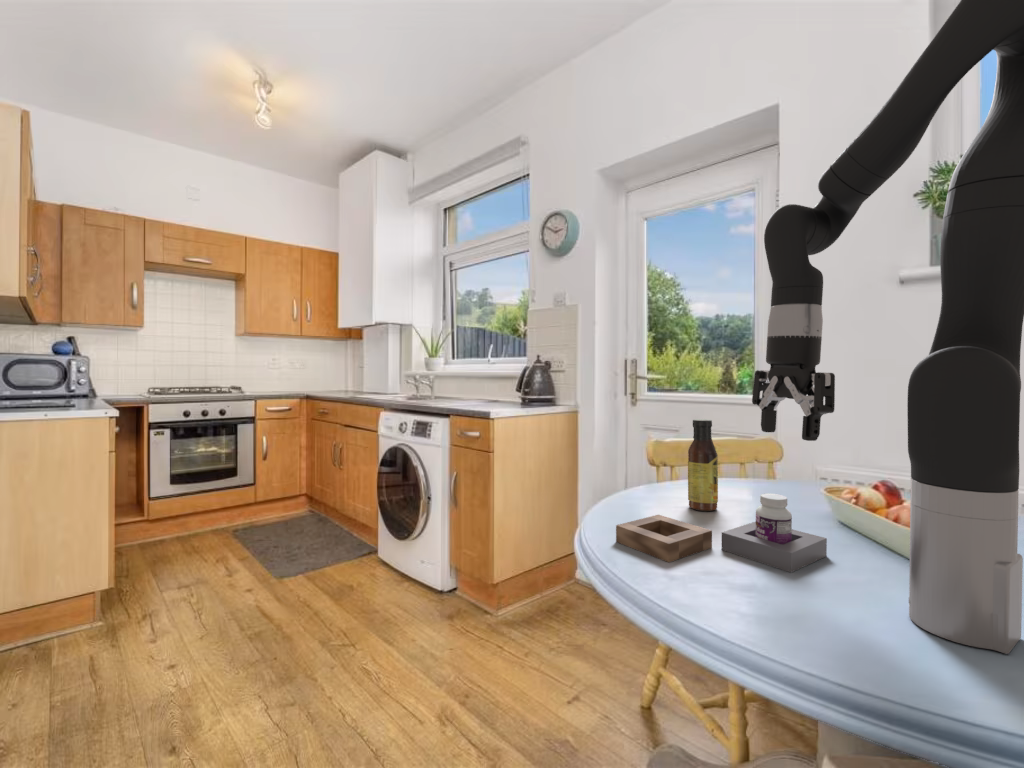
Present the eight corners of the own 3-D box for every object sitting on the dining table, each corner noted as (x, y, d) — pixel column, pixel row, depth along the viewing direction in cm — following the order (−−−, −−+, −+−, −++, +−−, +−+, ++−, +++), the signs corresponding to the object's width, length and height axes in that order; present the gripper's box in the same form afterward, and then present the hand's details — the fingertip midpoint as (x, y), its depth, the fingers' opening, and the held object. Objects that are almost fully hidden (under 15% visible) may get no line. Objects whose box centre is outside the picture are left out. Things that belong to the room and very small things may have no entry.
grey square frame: (826, 556, 79) (826, 538, 79) (791, 572, 73) (791, 552, 73) (758, 536, 89) (758, 520, 89) (721, 549, 82) (721, 532, 82)
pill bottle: (747, 549, 83) (748, 493, 82) (772, 545, 84) (772, 491, 84) (773, 560, 78) (774, 501, 77) (799, 557, 79) (799, 498, 79)
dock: (711, 547, 83) (712, 530, 83) (668, 562, 77) (669, 543, 77) (658, 529, 93) (658, 514, 93) (616, 541, 87) (616, 525, 86)
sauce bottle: (720, 513, 104) (721, 421, 103) (690, 511, 105) (690, 421, 105) (714, 505, 110) (714, 418, 110) (685, 503, 112) (686, 418, 111)
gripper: (853, 334, 71) (846, 443, 71) (780, 337, 84) (774, 429, 85) (810, 331, 69) (803, 444, 70) (742, 336, 83) (737, 429, 84)
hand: (787, 435), depth 77 cm, fingers open, 8 cm apart
